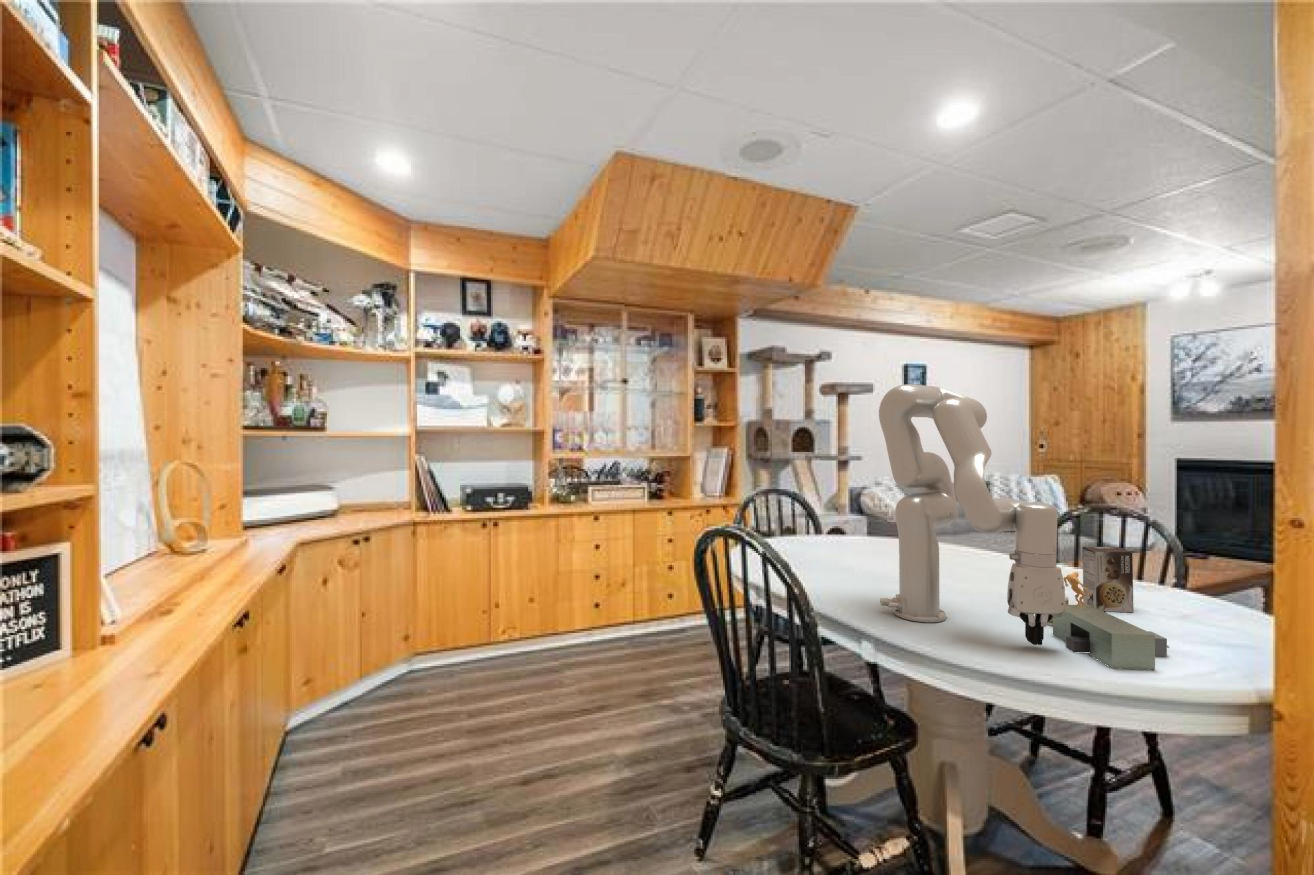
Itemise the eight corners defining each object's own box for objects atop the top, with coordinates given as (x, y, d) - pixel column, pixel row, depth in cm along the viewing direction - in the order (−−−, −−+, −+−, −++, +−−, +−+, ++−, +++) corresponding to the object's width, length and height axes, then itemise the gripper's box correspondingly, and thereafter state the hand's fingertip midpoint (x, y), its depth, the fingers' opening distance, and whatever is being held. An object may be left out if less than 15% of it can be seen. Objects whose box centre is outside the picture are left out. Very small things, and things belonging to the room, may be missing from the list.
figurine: (1104, 624, 141) (1103, 575, 141) (1079, 624, 141) (1079, 576, 141) (1079, 614, 149) (1079, 568, 149) (1056, 614, 149) (1056, 568, 149)
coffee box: (1118, 605, 156) (1118, 546, 156) (1134, 613, 150) (1134, 551, 150) (1081, 604, 158) (1081, 545, 158) (1095, 611, 151) (1095, 550, 151)
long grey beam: (1076, 654, 122) (1076, 635, 122) (1064, 646, 127) (1064, 628, 127) (1172, 657, 120) (1172, 638, 120) (1156, 649, 125) (1156, 631, 125)
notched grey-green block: (1111, 668, 115) (1111, 633, 115) (1052, 634, 134) (1052, 604, 134) (1155, 670, 114) (1154, 634, 114) (1089, 635, 134) (1089, 605, 134)
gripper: (1008, 562, 122) (1007, 647, 123) (1083, 564, 121) (1081, 650, 121) (991, 554, 130) (990, 635, 130) (1061, 556, 129) (1059, 637, 129)
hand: (1034, 642), depth 126 cm, fingers closed
